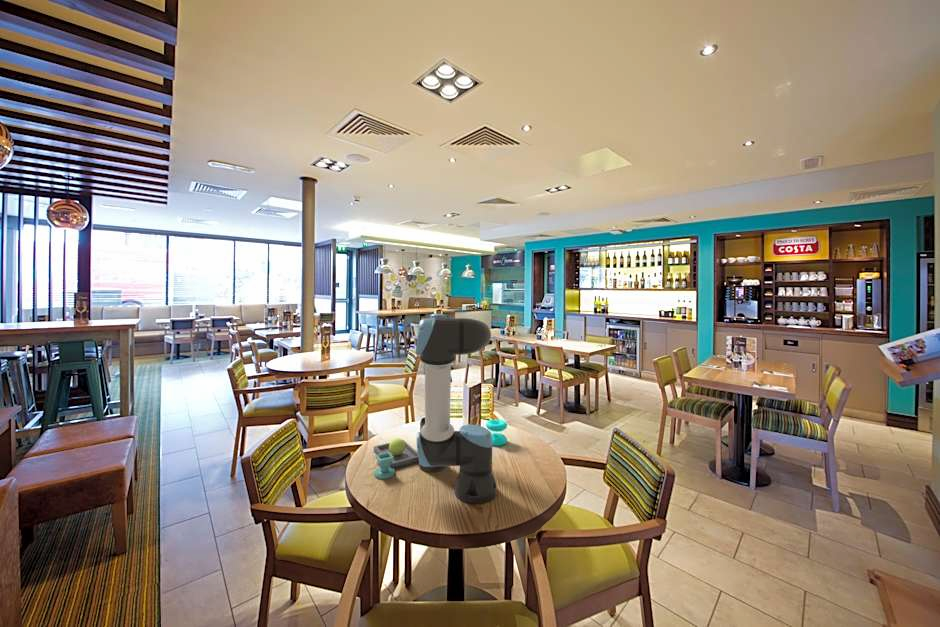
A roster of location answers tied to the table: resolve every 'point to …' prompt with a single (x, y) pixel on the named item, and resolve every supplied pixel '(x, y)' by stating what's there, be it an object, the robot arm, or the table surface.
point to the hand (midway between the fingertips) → (437, 394)
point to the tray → (399, 460)
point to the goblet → (384, 466)
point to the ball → (397, 446)
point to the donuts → (497, 427)
